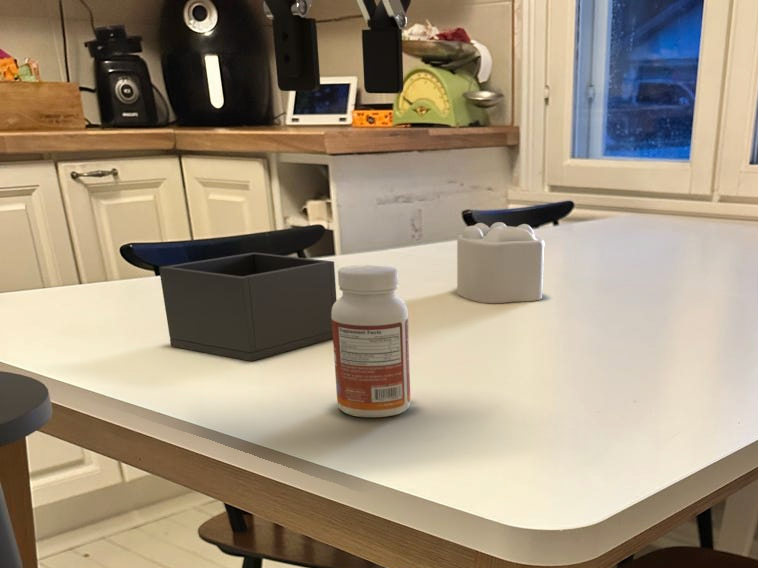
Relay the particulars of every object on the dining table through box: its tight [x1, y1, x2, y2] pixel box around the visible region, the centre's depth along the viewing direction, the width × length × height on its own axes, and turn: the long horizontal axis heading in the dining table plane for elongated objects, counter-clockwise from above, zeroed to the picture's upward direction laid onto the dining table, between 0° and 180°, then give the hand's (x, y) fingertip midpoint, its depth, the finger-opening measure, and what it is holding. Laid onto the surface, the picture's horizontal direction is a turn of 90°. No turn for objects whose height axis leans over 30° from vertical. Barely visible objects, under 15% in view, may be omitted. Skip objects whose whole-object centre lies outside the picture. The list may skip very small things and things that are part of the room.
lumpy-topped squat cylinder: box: [456, 221, 545, 304], centre depth 123 cm, size 10×13×9 cm
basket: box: [158, 252, 338, 362], centre depth 97 cm, size 14×12×8 cm
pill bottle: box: [331, 264, 411, 418], centre depth 75 cm, size 6×6×11 cm
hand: (344, 92), depth 65 cm, fingers open, 9 cm apart
